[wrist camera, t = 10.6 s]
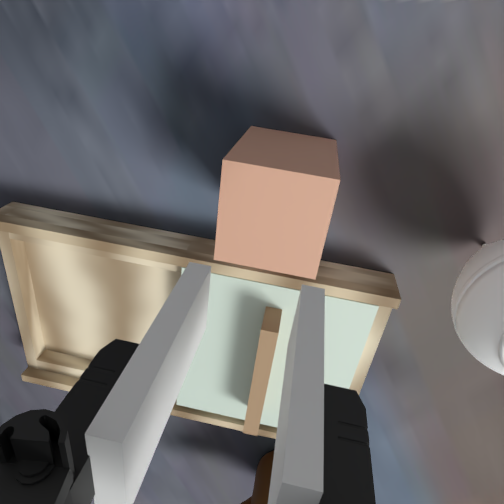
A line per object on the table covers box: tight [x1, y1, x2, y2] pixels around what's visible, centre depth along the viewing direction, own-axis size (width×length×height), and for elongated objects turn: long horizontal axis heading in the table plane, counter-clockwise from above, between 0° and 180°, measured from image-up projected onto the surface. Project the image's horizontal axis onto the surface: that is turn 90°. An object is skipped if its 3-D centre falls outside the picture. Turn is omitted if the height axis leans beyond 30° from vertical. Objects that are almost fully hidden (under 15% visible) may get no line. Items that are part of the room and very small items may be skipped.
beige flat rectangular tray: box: [0, 202, 401, 439], centre depth 32 cm, size 30×17×3 cm, turn 83°
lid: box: [177, 267, 379, 436], centre depth 30 cm, size 14×15×3 cm
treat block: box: [214, 126, 340, 279], centre depth 23 cm, size 6×6×8 cm
